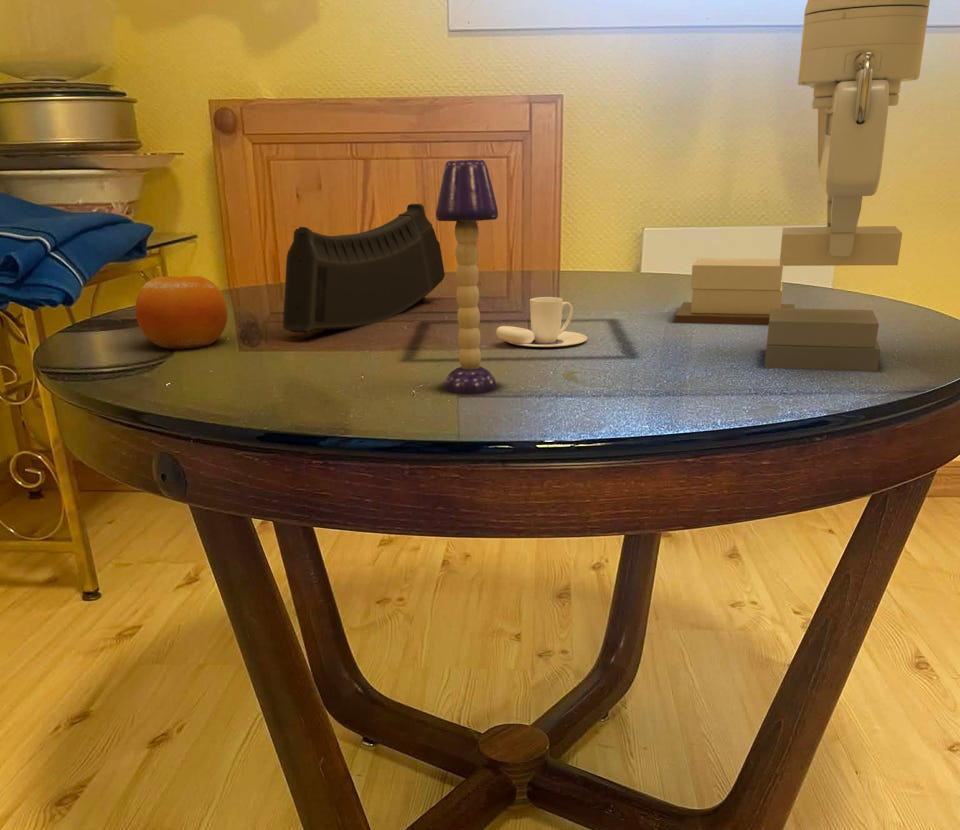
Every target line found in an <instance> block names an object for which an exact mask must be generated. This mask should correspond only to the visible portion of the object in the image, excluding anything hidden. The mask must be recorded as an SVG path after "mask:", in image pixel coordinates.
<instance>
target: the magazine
mask: <svg viewBox="0 0 960 830" xmlns="http://www.w3.org/2000/svg"><path fill="white" fill-rule="evenodd" d="M285 264H286V265H285V281H284V282H285V283H284V299H283V300H284V302H283V320H282V328H283V330H285V331H289V332H291V333H302V334H306V333H307V332H309V333H310V332H311V333H312V332H314V331H324V330H325V331H327V330H344V329H345V330H346V329H347V330H348V329H354V328H361V327H363V326H366V325H370V324H373V323H377V322H380V321H382V320H385V319H388V318H391V317H395V316H397V315H399V314H402V313H403V312H405V311H407V310H408V309H410V308H411V307H413V306H414V305H415V304H416V303H417V304H426V303H427V300H426V297H427V296H428V295H429V294H430V293H431V292H432V291H434V290H435V288H436V287H437V286H438V285H439V284H441V282H442V281H443V280H444V278H445V275H446V274H445V267H444V261H443V256H442V249H441V243H440V241H439V240H438V238H437V235H436V231H435V229H434V228H433V224H432V222H430V220H429V219H428V216H427V213H426V211H425V206H424V205H423V203H410V204H408V205H407V207H406V211H405V212H402V213H399V214H398V216H396V217H395V218H393V219H392V220H390V221H388V222H386V223H384V224H382V225H380V226H378V227H374V228H372V229H369V230H366V231H363V232H358V233H350V234H340V235H338V234H337V235H328V234H327V235H325V234H321V233H318V232H316V231H313V230H312V229H310V228H309V227H307V226H299V227H298V228H296V229H295V230H294V231H293V241H292V244H291V245H290V247H289V249H288V251H287V254H286V263H285Z"/></svg>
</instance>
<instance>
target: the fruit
mask: <svg viewBox="0 0 960 830" xmlns="http://www.w3.org/2000/svg"><path fill="white" fill-rule="evenodd" d="M134 309H135V310H134V313H135V318H136V322H137V324H138V327H139V328H140V330H141V332H142V333H143V335H144V336H146V338H147V339H148V340H149V341H150V342H152V343H153V345H156V346H158V347H160V348H162V349H167V350H168V349H169V350H185V349H197V348H202V347H209V346H211V345H212V344H214V343H215V342H216V341H218V339H219V338H220V336H221V335H222V334H223V332H224V330H225V328H226V325H227V321H228V307H227V302H226V299H225V296H224V294H223V292H222V291H221V289H220V288H219V287H218V285H216V284H215V283H214V282H213V281H211V280H210V279H208V278H206V277H204V276H200V275H188V276H172V275H171V276H169V275H168V276H156V277H153V278H152V279H150V280H148V281H147V282H146V283H145V284H144V285H142V286H141V289H140V290H139V292H138V293H137V297H136V301H135V308H134Z"/></svg>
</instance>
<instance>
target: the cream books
mask: <svg viewBox="0 0 960 830" xmlns="http://www.w3.org/2000/svg"><path fill="white" fill-rule="evenodd" d="M783 269H784V266H780V258H726V257H725V258H723V257H722V258H720V257H719V258H715V257H714V258H712V257H705V258H704V257H703V258H702V257H697V258H696V260H695V261H694V262H693V264H692V268H691V278H690V279H691V280H690V289H691V290H692V293H691V294H692V295H691V301H683V302H682V304H681V305H680V307H679V309H678V310H677V312H676V313H675V315H674V323H675V324H708V325H709V324H710V325H711V324H712V325H748V326H749V325H753V326H769V317H770V309H771V308H794V309H795V304H794V303H782V299H783V286H784V285H783V282H782V278H783Z"/></svg>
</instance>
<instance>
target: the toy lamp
mask: <svg viewBox="0 0 960 830" xmlns="http://www.w3.org/2000/svg"><path fill="white" fill-rule="evenodd" d="M441 178H442V179H441V184H440V188H439V193H438V198H437V202H436V203H437V204H436V208H435V209H436V210H435V219H436V221H438V222H455V225H454V237H455V240H456V242H457V243H456V245H455V250H454V251H455V253H454V256H455V260H456V262H457V266H456V269H455V279H456V282H457V285H458V286H457V288H456V297H455V298H456V302H457V305H458V309H457V314H456V315H457V316H456V317H457V319H456V320H457V323H458V325H459V330H458V336H457V338H458V344H459V346H460V349H459V352H458V353H459V354H458V360H459V365H460V366H459V367H457V368H454V369H453V370H451V372H449V374H448V375H447V376H446V378H445V381H444V386H443V390H444V391H445V392H447V393H449V394H456V395H480V394H487V393H490V392H494V391H496V390H497V388H498V386H497V382H496V379H495V376H494V375H493V374H492V372H490V371H489V370H488V369H486V368H484V367H483V366H480V365H481V362H482V353H481V350H480V344H481V338H482V337H481V336H482V335H481V331H480V328H479V326H480V322H481V312H480V309H479V307H478V305H479V302H480V290H479V288H478V286H477V284H478V282H479V276H480V274H479V273H480V272H479V268H478V265H477V262H478V259H479V247H478V245H477V240H478V237H479V227H478V223H477V222H479V221H492V220H493V221H495V220H497V219H498V217H499V211H498V205H497V202H496V197H495V193H494V188H493V185H492V180H491V177H490V172H489V169H488V166H487V163H486V162H485V160H484V159H457V160H454V159H453V160H447V161H446V163H445V165H444V167H443V172H442V177H441Z"/></svg>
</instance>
